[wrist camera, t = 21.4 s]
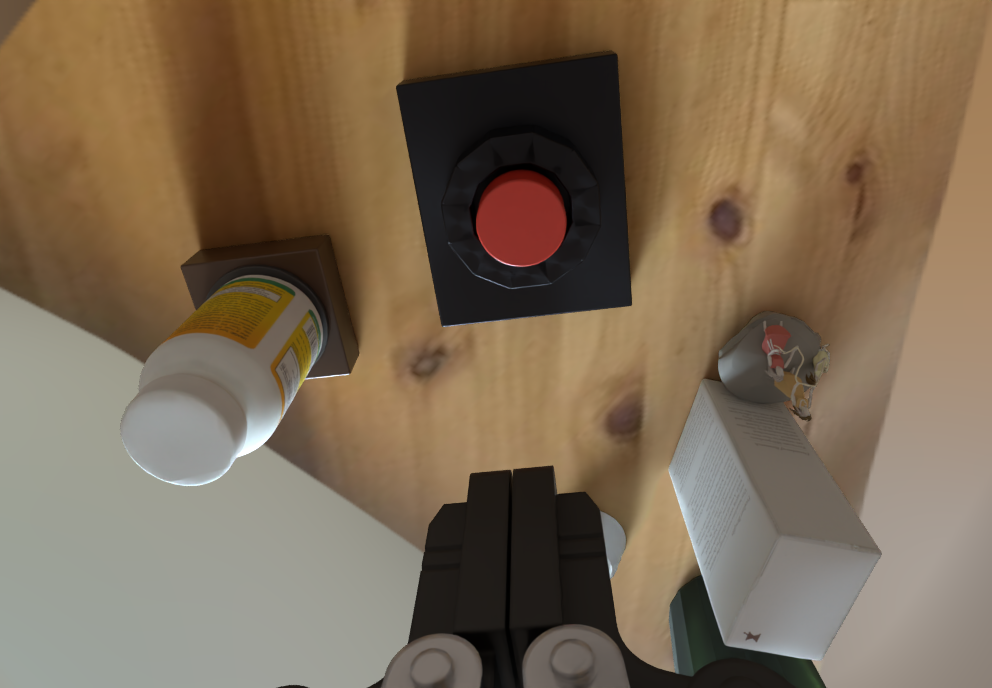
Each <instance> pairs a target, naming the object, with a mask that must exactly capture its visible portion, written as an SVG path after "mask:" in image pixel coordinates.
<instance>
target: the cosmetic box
mask: <svg viewBox="0 0 992 688" xmlns="http://www.w3.org/2000/svg"><path fill="white" fill-rule="evenodd" d="M669 473H670V476H671V479H672V482H673V486H674V489H675V492H676V495H677V498H678V501H679V505H680V508H681V511H682V514H683V517H684V520H685V523H686V526H687V529H688V532H689V535H690V539H691V542H692V545H693V548H694V551H695V554H696V557H697V561H698V564H699V567H700V570H701V573H702V576H703V579H704V583H705V586H706V589H707V592H708V595H709V599H710V602H711V605H712V608H713V611H714V615H715V618H716V621H717V624H718V627H719V630H720V633H721V636H722V639H723V642H724V644H725V645H726V646H730V647H736V648H743V649H749V650H755V651H761V652H767V653H773V654H778V655H785V656H790V657H796V658H803V659H810V660H822V659H823V657H824V655H825V654H826V652H827V650H828V648H829V646H830V644H831V642H832V641H833V639H834V637H835V636H836V634H837V632H838V630H839V629H840V627H841V625H842V623H843V621H844V620H845V618H846V616H847V614H848V613H849V611H850V609H851V607H852V606H853V604H854V602H855V600H856V598H857V597H858V595H859V593H860V591H861V590H862V588H863V586H864V584H865V583H866V581H867V579H868V577H869V576H870V574H871V572H872V570H873V568H874V567H875V565H876V563H877V561H878V560H879V559H880V557H881V555H882V553H881V551H880V549H879V548H878V546H877V545H876V543H875V542H874V540H873V539H872V537H871V536H870V534H869V533H868V531H867V529H866V528H865V526H864V525H863V523H862V522H861V520H860V519H859V517H858V516H857V514H856V513H855V511H854V510H853V508H852V507H851V505H850V503H849V502H848V500H847V499H846V497H845V496H844V494H843V493H842V491H841V490H840V488H839V487H838V485H837V484H836V482H835V481H834V479H833V478H832V476H831V475H830V473H829V471H828V470H827V468H826V467H825V465H824V464H823V462H822V461H821V459H820V457H819V456H818V454H817V453H816V451H815V450H814V448H813V447H812V445H811V444H810V442H809V441H808V439H807V438H806V436H805V435H804V433H803V431H802V430H801V429H800V427H799V425H798V424H797V422H796V421H795V419H794V418H793V416H792V415H791V413H790V412H789V410H788V409H787V407H786V406H785V404H784V402H780V403H771V404H763V403H754V402H750V401H747V400H744V399H741V398H739V397H737V396H736V395H734V394H733V393H731V392H730V391H729V390H728V389H727V388H726V386H725V385H724V384H723V382H719V381H714V380H709V379H703V380H702V381H701V384H700V387H699V389H698V392H697V395H696V397H695V400H694V403H693V405H692V408H691V410H690V413H689V416H688V418H687V421H686V424H685V426H684V429H683V432H682V434H681V437H680V440H679V442H678V445H677V448H676V450H675V453H674V456H673V458H672V461H671V463H670V466H669Z"/></svg>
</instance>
